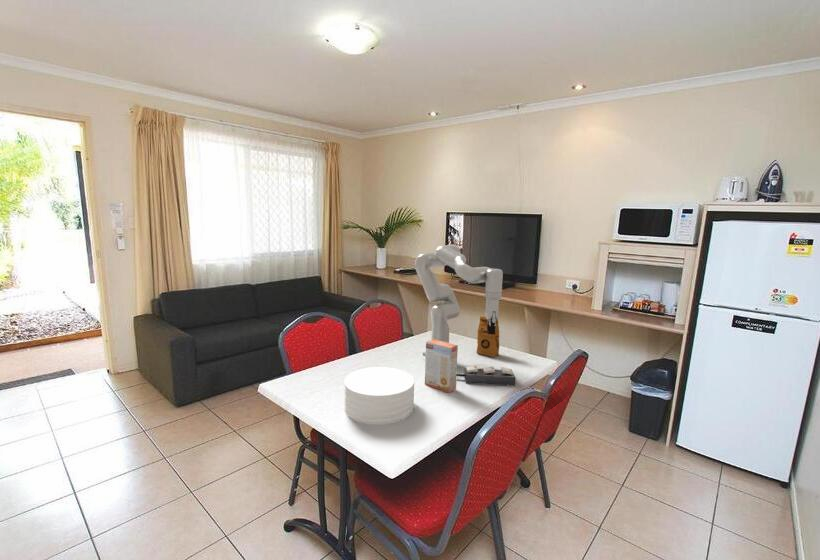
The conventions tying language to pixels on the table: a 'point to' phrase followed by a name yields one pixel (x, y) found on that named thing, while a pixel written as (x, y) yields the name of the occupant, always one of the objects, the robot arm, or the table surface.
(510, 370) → the rocker right
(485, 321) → the coffee package
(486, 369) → the plate
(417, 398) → the table surface
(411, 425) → the table surface
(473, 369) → the block
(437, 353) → the cracker box
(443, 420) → the table surface
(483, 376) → the power strip
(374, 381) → the plate stack
